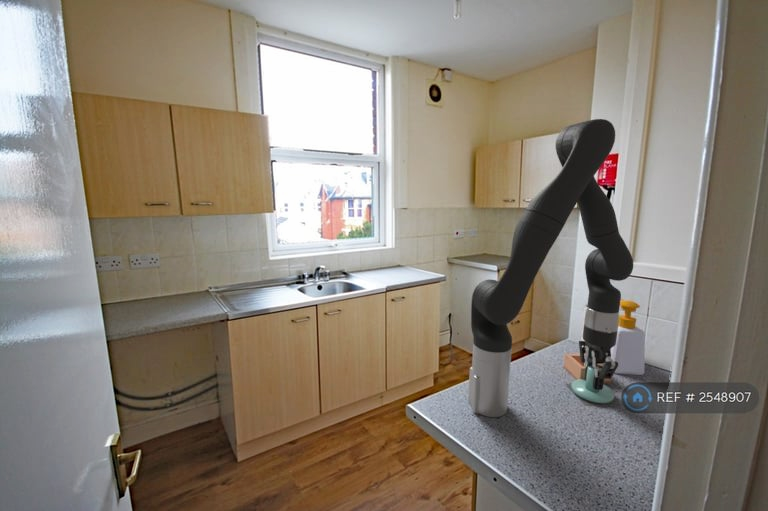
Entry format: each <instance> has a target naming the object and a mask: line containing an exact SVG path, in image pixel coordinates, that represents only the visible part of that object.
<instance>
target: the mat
mask: <svg viewBox="0 0 768 511" xmlns="http://www.w3.org/2000/svg"><path fill="white" fill-rule="evenodd" d="M564 385H565V386H566V387H567V388H568V389H569V390H570V391H571V392H572V394H573V395H574V396H575V397H576V398H577V399H578V400H579V401H580V402H581V403H582V404H583V405H584V406H595V407H596V406H599V407H600V406H601V407H602V406H612V407H613V406H615V407H617V406H620V407H621V406H624V404H622V402H620V400H618V399H617V398H616V397H615V396H614V400H613V401H612V402H610V403H596V402H592V401H588V400H586V399H583V398H581V397H580V396H578V395H577V394H575V393H574V392H573V391H572V388H571V385H572V383H564Z"/></svg>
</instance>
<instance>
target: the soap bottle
mask: <svg viewBox="0 0 768 511" xmlns="http://www.w3.org/2000/svg"><path fill="white" fill-rule="evenodd" d="M640 307H641V306H640V305H639V304H638V303H637V302H635V301H632V300H625V299H622V298H621V301H620V310H622V311H624V314H620V315H619V324H618V331H617V339H616V345H615V346H613V347H612V348H611V359H612V360H613V361H617V362H618V367H617V369H616V371H615V372H614V374H619V375H633V376H634V375H636V376H643V375H644V374H645V359H646V358H645V354H646V352H645V351H646V334H645V333H646V332H645V331H644V330H643V329H641V328H640V327H638V326H637V325H636V323H637V318H636V317H634V316H631V315H632V313H635V312H636V311H637V309H639V308H640Z"/></svg>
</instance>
